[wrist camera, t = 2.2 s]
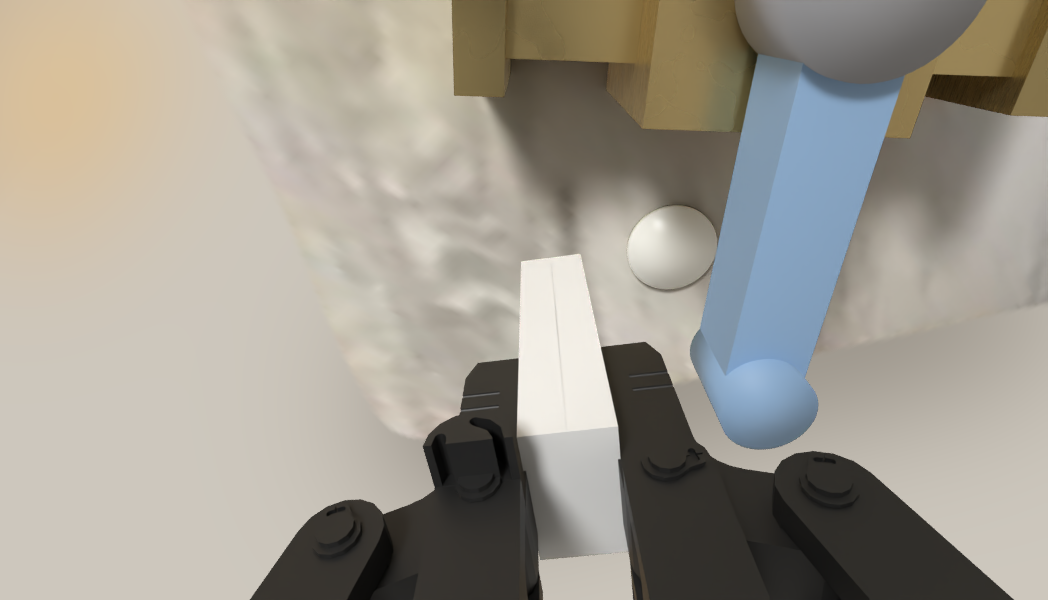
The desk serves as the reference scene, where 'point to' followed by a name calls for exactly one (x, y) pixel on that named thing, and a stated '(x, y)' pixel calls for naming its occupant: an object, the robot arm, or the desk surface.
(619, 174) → the desk surface
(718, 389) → the lever
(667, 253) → the white domed disc
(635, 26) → the valve body
